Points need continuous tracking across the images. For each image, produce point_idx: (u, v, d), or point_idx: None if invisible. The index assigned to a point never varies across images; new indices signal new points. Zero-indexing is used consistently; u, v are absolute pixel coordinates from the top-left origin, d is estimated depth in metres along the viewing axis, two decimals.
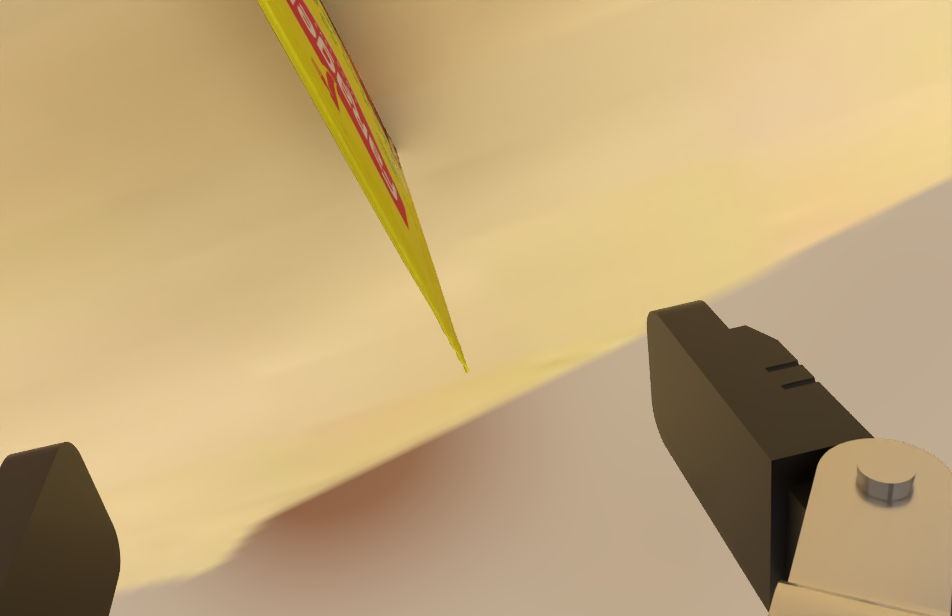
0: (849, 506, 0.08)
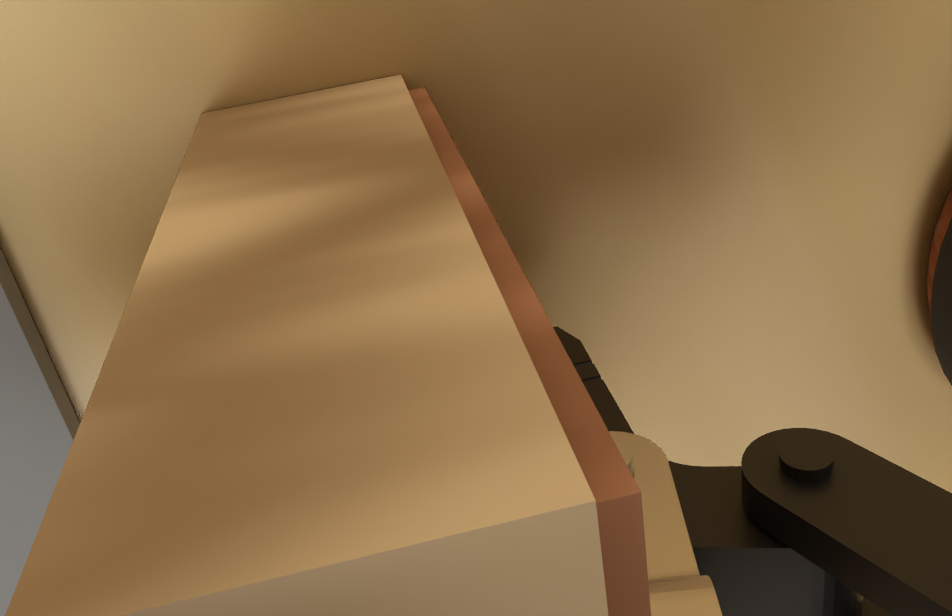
0: None
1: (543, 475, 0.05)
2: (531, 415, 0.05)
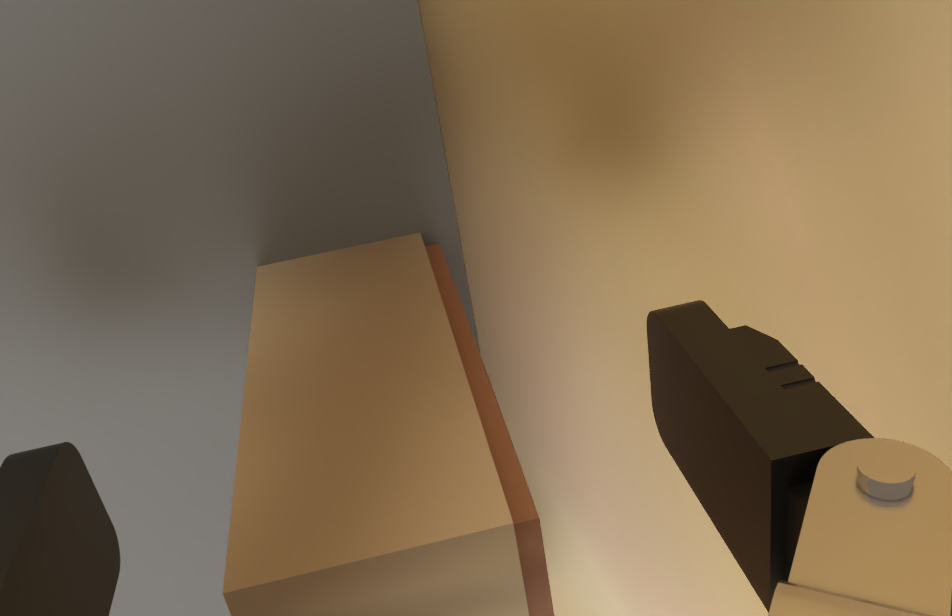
0: (849, 506, 0.08)
1: None
2: None
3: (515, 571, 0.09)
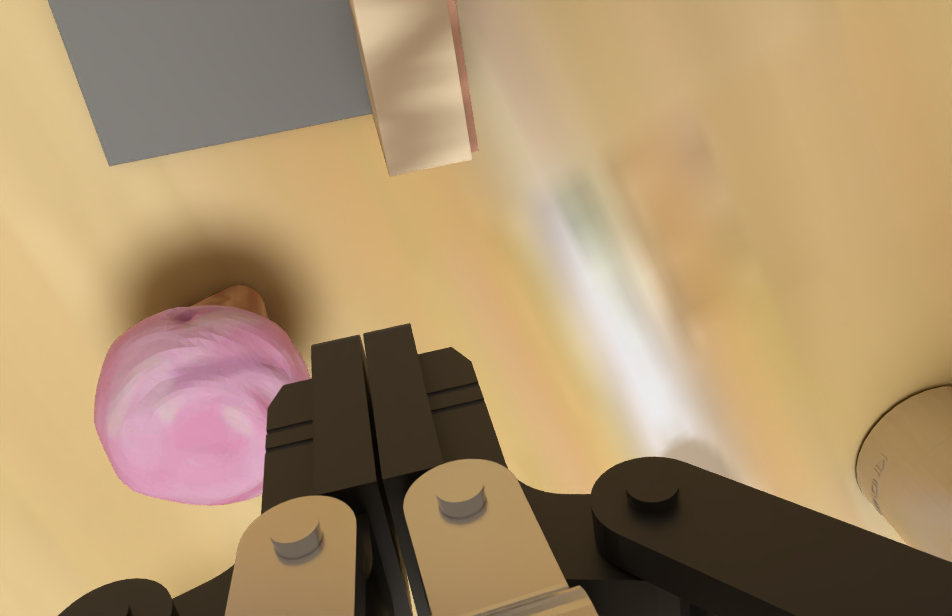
0: (416, 524, 0.09)
1: (465, 153, 0.31)
2: (464, 138, 0.31)
3: None
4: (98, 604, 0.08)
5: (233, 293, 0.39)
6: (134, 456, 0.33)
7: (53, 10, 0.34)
